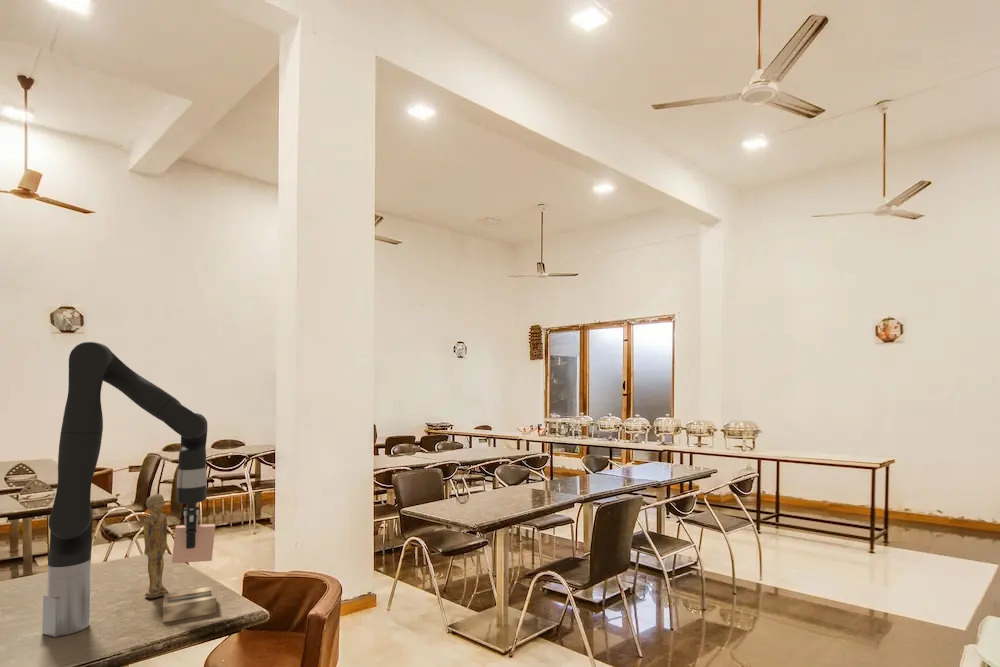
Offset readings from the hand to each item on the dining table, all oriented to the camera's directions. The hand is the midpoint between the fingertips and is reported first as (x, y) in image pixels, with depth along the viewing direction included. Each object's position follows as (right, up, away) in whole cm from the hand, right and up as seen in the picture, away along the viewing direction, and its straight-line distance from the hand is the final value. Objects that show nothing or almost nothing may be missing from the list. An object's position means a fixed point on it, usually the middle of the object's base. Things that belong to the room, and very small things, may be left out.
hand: (190, 546), depth 171 cm
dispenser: (0, -18, -1) cm, 18 cm away
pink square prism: (0, -4, 0) cm, 4 cm away
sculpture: (-16, -19, +11) cm, 27 cm away
